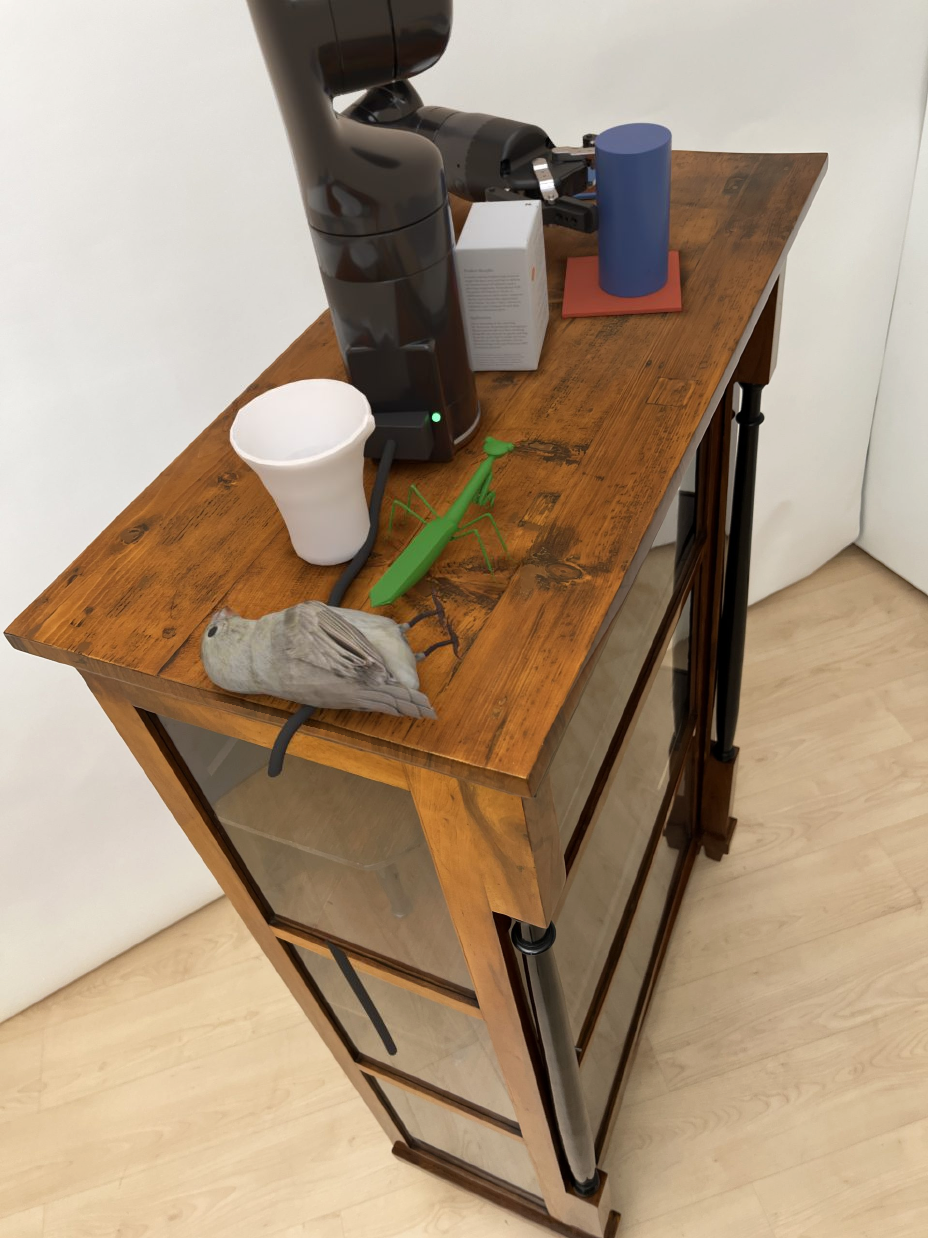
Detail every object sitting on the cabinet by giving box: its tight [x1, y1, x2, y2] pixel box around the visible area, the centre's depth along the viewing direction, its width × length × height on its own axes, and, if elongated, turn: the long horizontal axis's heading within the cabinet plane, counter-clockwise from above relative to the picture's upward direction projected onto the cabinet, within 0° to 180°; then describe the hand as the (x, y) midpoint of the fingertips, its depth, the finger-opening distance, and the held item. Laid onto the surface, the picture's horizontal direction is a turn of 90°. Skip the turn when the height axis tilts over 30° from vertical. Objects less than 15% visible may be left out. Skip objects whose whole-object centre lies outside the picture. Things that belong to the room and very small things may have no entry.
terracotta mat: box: [561, 250, 683, 319], centre depth 83 cm, size 10×10×1 cm
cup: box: [229, 378, 375, 566], centre depth 61 cm, size 9×9×10 cm
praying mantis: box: [368, 436, 516, 608], centre depth 61 cm, size 9×15×4 cm, turn 145°
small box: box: [456, 200, 550, 372], centre depth 75 cm, size 8×6×10 cm
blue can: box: [595, 122, 673, 297], centre depth 79 cm, size 6×6×12 cm
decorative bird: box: [200, 582, 463, 721], centre depth 54 cm, size 5×16×7 cm
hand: (630, 199), depth 78 cm, fingers open, 8 cm apart
